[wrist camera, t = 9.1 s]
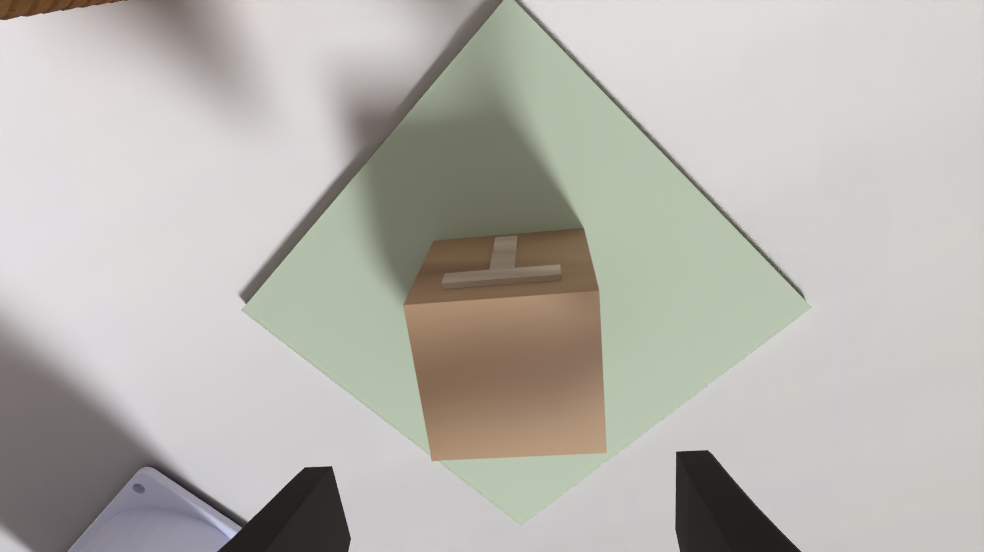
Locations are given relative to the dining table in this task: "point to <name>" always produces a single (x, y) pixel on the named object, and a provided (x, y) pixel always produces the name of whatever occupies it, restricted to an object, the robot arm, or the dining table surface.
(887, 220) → the dining table surface
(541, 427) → the letter cube
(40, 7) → the disposable coffee cup
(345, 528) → the robot arm
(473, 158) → the mat
